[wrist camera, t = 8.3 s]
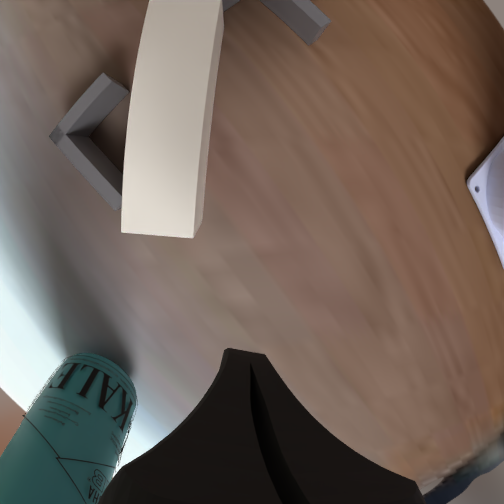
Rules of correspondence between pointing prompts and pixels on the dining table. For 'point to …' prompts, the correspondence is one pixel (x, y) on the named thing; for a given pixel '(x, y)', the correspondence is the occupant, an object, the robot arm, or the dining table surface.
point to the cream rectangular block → (171, 118)
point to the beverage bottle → (70, 435)
